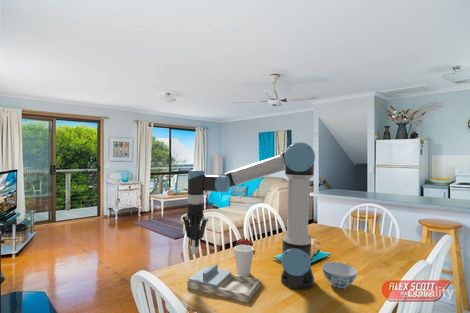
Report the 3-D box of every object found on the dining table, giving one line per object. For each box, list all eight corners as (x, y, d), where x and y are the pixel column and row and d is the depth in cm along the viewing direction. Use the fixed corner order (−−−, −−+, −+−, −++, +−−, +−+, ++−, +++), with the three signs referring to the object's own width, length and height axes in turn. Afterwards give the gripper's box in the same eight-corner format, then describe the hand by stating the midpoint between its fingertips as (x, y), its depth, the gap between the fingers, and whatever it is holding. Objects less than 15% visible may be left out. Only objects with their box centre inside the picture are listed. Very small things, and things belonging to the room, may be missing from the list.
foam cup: (231, 271, 138) (231, 245, 138) (248, 268, 141) (248, 244, 141) (238, 279, 129) (238, 252, 129) (256, 276, 133) (256, 250, 132)
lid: (231, 273, 129) (231, 265, 129) (216, 286, 115) (216, 278, 115) (205, 267, 134) (205, 260, 134) (188, 280, 121) (188, 271, 121)
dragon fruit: (233, 253, 167) (251, 254, 171) (238, 249, 161) (257, 250, 165) (232, 240, 172) (249, 241, 176) (237, 235, 166) (255, 236, 170)
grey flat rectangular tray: (260, 286, 123) (260, 279, 123) (248, 302, 109) (248, 295, 109) (204, 274, 135) (204, 268, 135) (187, 287, 121) (187, 280, 121)
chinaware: (328, 275, 136) (329, 259, 135) (361, 284, 126) (361, 267, 126) (316, 286, 124) (317, 269, 124) (351, 297, 114) (351, 279, 114)
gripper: (211, 203, 128) (210, 252, 128) (188, 200, 133) (187, 248, 134) (203, 205, 121) (202, 258, 121) (179, 202, 126) (178, 253, 127)
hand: (194, 253), depth 128 cm, fingers closed
